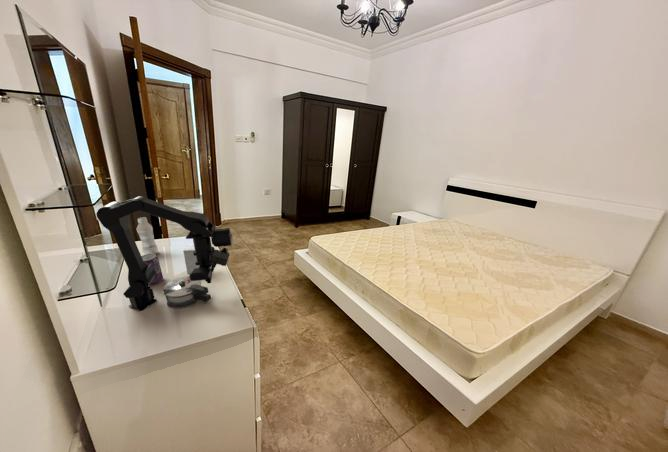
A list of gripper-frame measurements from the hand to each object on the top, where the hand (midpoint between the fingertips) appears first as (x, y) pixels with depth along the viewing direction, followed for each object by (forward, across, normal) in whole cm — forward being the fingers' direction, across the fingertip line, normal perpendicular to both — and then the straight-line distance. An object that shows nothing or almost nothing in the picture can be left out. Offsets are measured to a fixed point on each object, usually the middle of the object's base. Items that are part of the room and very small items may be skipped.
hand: (209, 282), depth 100 cm
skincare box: (+6, +20, +12) cm, 24 cm away
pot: (+6, -2, +7) cm, 9 cm away
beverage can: (+6, +13, +27) cm, 31 cm away
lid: (+1, -2, +7) cm, 8 cm away
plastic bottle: (+6, +40, +39) cm, 56 cm away
